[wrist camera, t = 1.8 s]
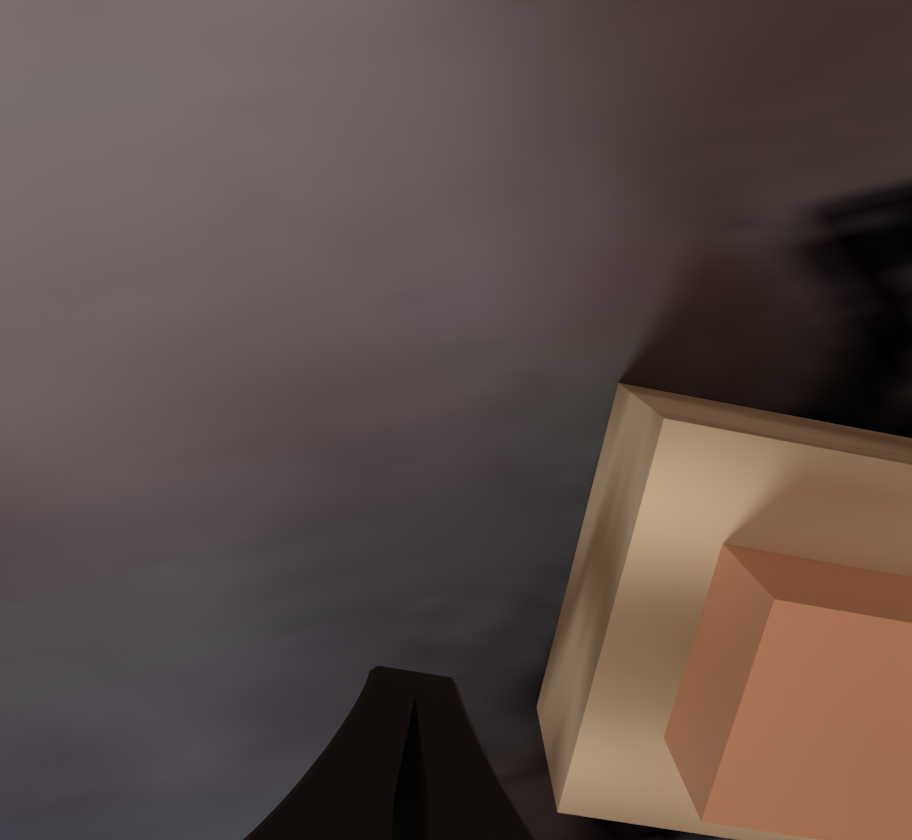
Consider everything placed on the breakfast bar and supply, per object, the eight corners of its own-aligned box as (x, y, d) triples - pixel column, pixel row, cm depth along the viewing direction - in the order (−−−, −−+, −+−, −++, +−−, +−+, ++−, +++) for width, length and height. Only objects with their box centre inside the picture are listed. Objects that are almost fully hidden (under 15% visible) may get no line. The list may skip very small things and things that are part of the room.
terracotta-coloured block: (864, 769, 17) (935, 857, 14) (663, 737, 17) (700, 821, 14) (937, 581, 16) (1026, 643, 13) (722, 543, 15) (774, 599, 13)
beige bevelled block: (823, 753, 21) (907, 865, 18) (536, 707, 21) (557, 812, 17) (938, 443, 19) (1064, 493, 15) (618, 382, 19) (664, 418, 15)
